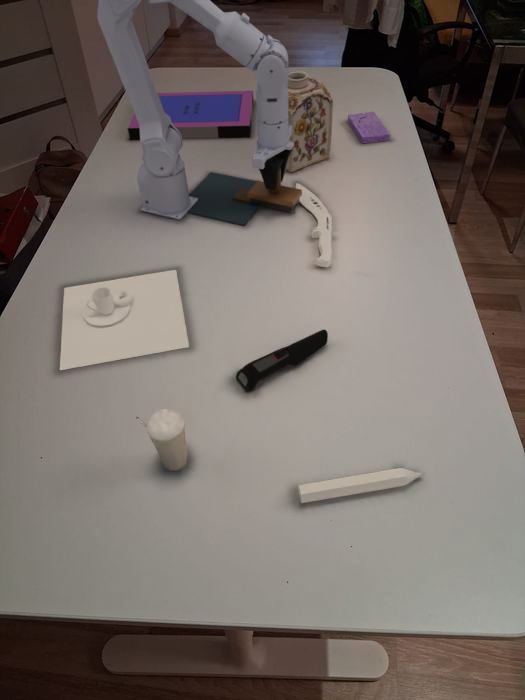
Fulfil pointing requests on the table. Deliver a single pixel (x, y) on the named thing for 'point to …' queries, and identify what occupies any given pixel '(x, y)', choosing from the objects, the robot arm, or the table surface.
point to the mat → (222, 199)
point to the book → (205, 114)
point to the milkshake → (168, 437)
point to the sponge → (368, 127)
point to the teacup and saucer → (122, 319)
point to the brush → (275, 196)
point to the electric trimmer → (280, 360)
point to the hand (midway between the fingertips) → (274, 185)
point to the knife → (319, 225)
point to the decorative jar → (308, 120)
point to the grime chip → (242, 196)
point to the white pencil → (356, 484)
